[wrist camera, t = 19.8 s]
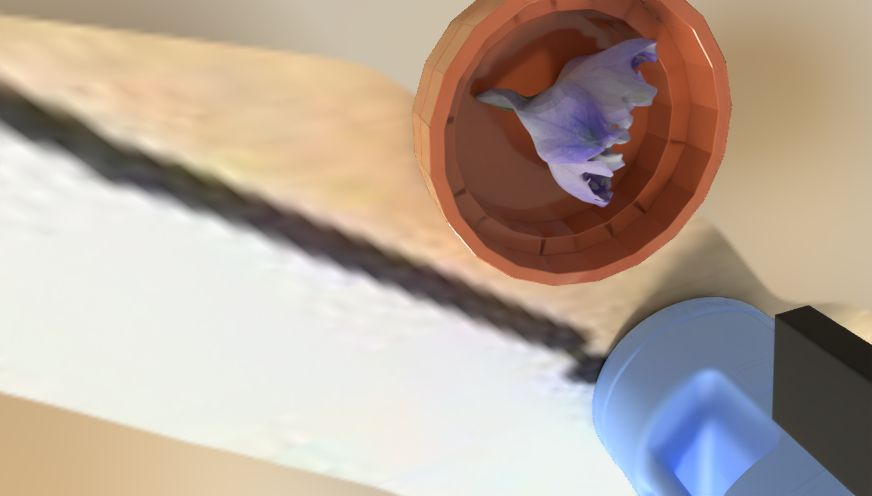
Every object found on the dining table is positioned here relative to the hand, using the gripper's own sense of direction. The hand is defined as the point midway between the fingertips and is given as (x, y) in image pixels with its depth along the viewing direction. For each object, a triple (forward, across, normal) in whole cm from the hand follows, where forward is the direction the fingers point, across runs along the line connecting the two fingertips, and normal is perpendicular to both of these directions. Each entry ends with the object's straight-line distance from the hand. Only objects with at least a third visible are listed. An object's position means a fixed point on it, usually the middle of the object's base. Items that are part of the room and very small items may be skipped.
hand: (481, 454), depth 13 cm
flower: (+26, +11, 0) cm, 29 cm away
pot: (+27, +11, -1) cm, 29 cm away
